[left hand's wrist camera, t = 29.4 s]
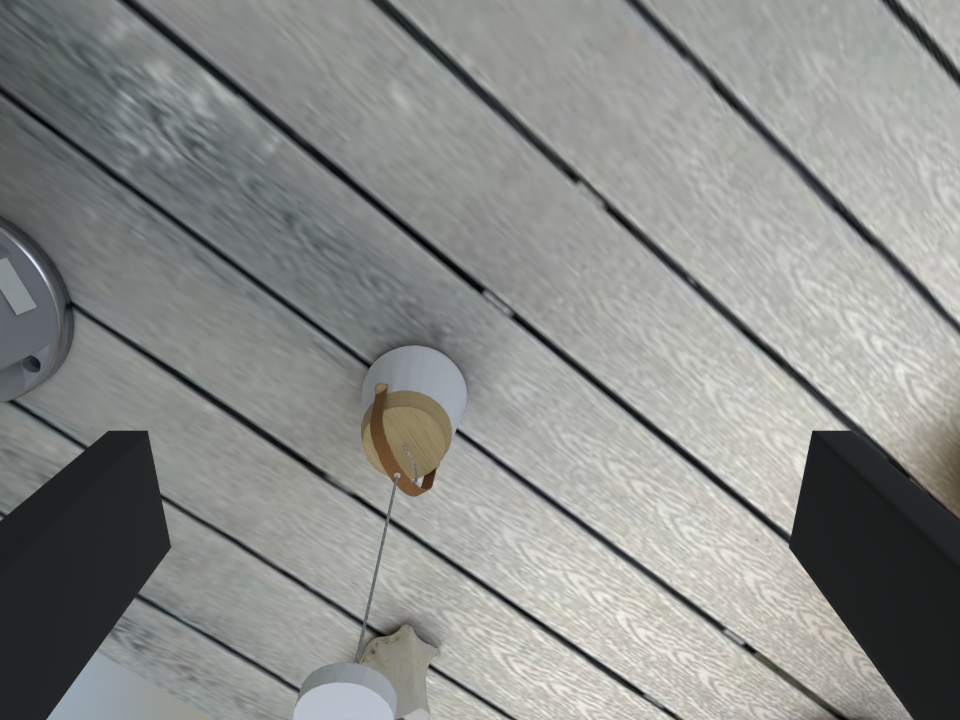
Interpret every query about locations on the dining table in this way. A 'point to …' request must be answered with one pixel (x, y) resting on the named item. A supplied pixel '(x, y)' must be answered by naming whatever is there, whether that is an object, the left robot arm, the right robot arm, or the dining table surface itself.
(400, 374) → the pendant light
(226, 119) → the dining table surface
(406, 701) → the bone
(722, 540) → the dining table surface
